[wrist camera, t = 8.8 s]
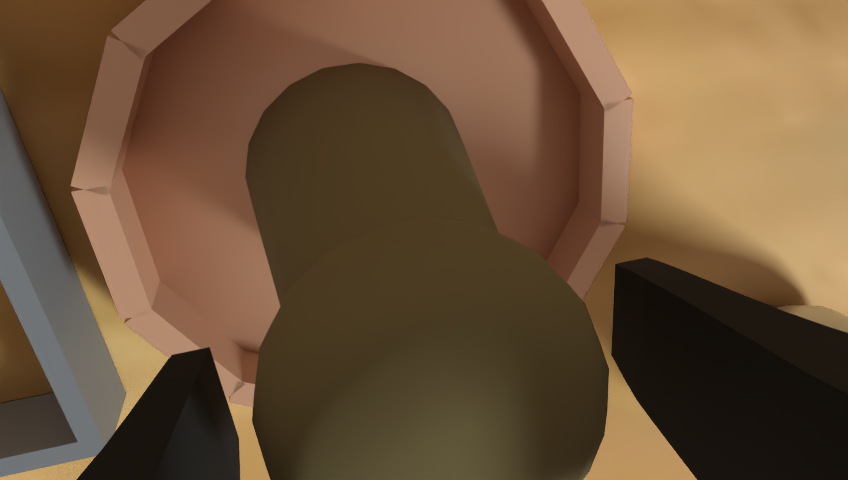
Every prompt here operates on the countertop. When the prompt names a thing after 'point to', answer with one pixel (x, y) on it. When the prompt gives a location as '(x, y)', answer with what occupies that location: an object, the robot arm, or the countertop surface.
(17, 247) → the parts tray
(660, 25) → the countertop surface
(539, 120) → the dish
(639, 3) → the countertop surface
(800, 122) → the countertop surface
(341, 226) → the olive rounded piece
